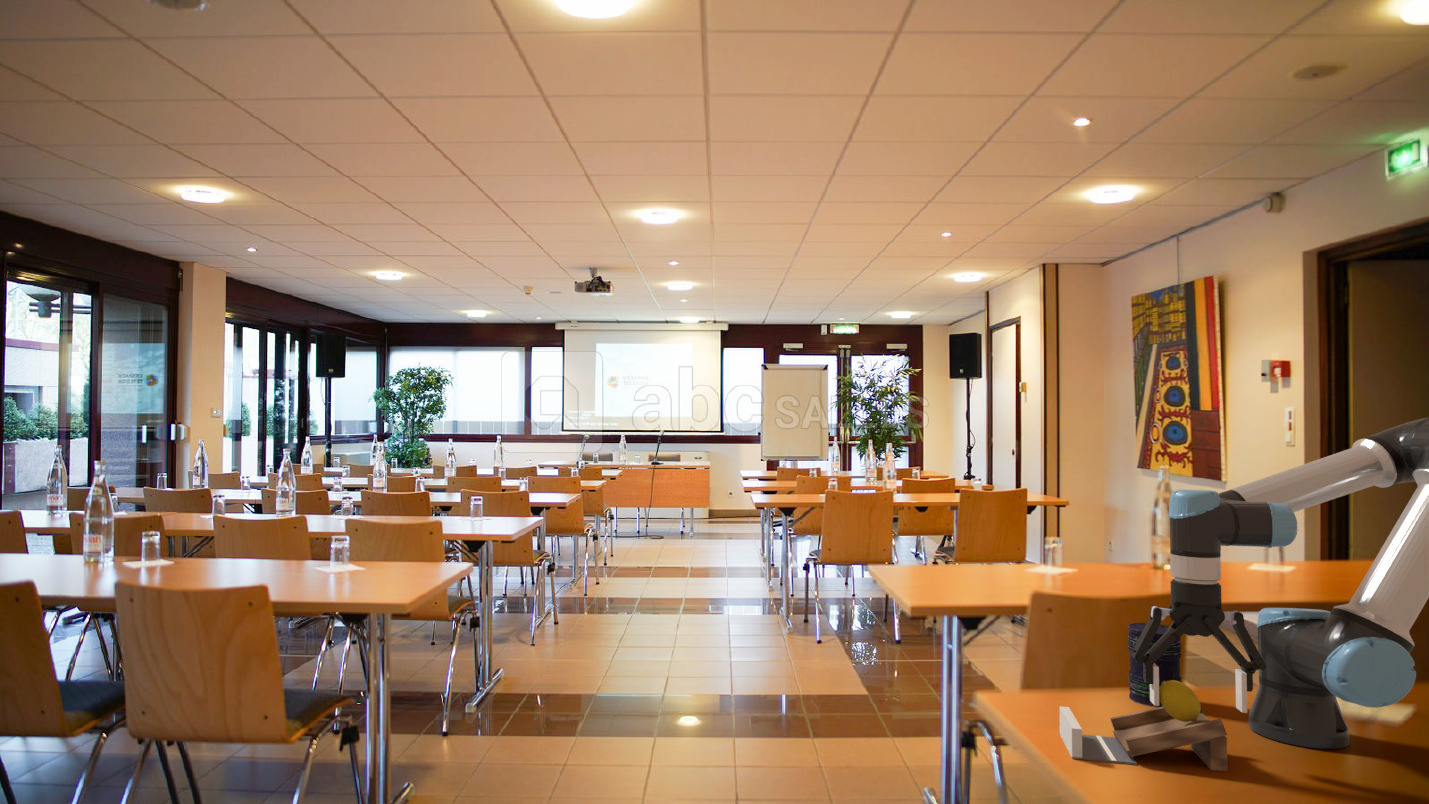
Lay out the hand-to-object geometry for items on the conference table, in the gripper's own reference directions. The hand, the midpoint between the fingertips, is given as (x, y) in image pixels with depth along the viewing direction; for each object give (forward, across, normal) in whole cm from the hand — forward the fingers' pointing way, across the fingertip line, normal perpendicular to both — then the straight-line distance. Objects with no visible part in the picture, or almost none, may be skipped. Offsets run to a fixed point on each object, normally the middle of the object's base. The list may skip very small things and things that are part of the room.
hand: (1197, 706), depth 138 cm
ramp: (+9, +5, 0) cm, 10 cm away
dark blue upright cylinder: (+9, -2, -33) cm, 34 cm away
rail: (+9, +20, 0) cm, 22 cm away
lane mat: (+9, +16, 0) cm, 18 cm away
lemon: (+2, 0, 0) cm, 2 cm away
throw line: (+9, +14, 0) cm, 17 cm away
